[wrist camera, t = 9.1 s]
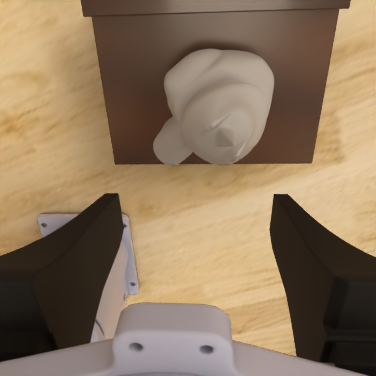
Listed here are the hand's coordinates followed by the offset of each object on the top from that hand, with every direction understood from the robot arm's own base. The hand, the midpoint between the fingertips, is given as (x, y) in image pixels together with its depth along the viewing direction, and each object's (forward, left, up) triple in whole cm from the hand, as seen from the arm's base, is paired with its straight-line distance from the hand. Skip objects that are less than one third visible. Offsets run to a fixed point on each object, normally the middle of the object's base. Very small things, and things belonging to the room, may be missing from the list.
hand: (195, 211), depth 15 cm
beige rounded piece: (+4, -1, -6) cm, 7 cm away
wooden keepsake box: (+4, -1, -10) cm, 11 cm away
